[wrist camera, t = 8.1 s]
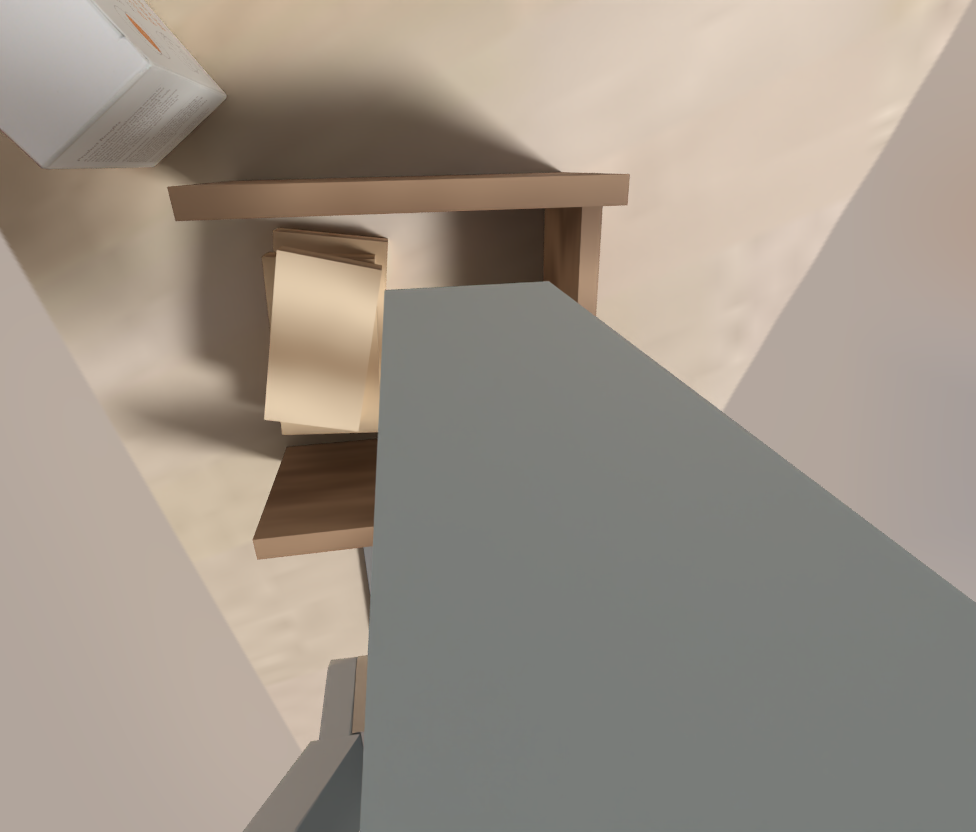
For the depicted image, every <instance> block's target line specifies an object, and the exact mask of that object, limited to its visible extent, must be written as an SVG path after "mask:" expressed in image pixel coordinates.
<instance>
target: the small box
mask: <svg viewBox="0 0 976 832" xmlns="http://www.w3.org/2000/svg"><path fill="white" fill-rule="evenodd" d="M226 97H227V95H226V93H225V92H224V91H223V90H222V89H221V88H220V87H219V86H218V85H217V84H216V82H215V81H214V80H213V79H212V78H211V77H210V76H209V74H208V73H207V72H206V71H205V70H204V69H203V68H202V66H201V65H200V64H199V63H198V62H197V61H196V59H195V58H194V57H193V56H192V55H191V54H190V53H189V51H188V50H187V49H186V48H185V47H184V46H183V45H182V43H181V42H180V41H179V40H178V39H177V38H176V37H175V35H174V34H173V33H172V32H171V31H170V30H169V29H168V27H167V26H166V25H165V24H164V23H163V22H162V21H161V19H160V18H159V17H158V16H157V15H156V14H155V12H154V11H153V10H152V9H151V8H150V7H149V6H148V4H147V3H146V2H145V1H144V0H0V130H1V131H2V132H3V133H4V134H5V135H6V136H8V137H9V138H10V139H11V140H12V141H13V142H14V143H15V144H16V145H17V146H18V147H20V148H21V149H22V150H23V151H24V152H25V153H26V154H27V155H28V156H29V157H30V158H32V159H33V160H34V161H35V162H36V163H37V164H38V165H39V166H40V167H41V168H44V169H77V168H139V167H154V166H155V165H157V164H158V163H159V162H160V161H161V160H162V159H163V158H164V157H165V156H166V155H168V154H169V153H170V152H171V151H172V150H173V149H174V148H175V147H176V146H177V145H178V144H179V143H180V142H181V141H182V140H183V139H184V138H186V137H187V136H188V135H189V134H190V133H191V132H192V131H193V130H194V129H195V128H196V127H197V126H198V125H199V124H200V123H201V122H202V121H203V120H204V119H205V118H207V117H208V116H209V115H210V114H211V113H212V112H213V111H214V110H215V109H216V108H217V107H218V106H219V105H220V104H221V103H222V102H223V101H224V100H225V99H226Z"/></svg>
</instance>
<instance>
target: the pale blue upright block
mask: <svg viewBox="0 0 976 832" xmlns="http://www.w3.org/2000/svg"><path fill="white" fill-rule="evenodd" d="M360 832H976V603H975V602H974V601H973V600H971V599H970V598H968V597H967V596H966V595H965V594H963V593H962V592H961V591H959V590H958V589H957V588H955V587H954V586H953V585H951V584H950V583H949V582H947V581H946V580H945V579H943V578H942V577H941V576H939V575H938V574H937V573H935V572H934V571H933V570H932V569H930V568H929V567H928V566H926V565H925V564H923V563H922V562H921V561H920V560H918V559H917V558H916V557H914V556H913V555H911V554H910V553H909V552H907V551H906V550H905V549H903V548H902V547H901V546H900V545H898V544H897V543H896V542H894V541H893V540H892V539H890V538H889V537H888V536H886V535H885V534H884V533H882V532H881V531H879V530H878V529H877V528H876V527H874V526H873V525H872V524H870V523H869V522H868V521H866V520H865V519H864V518H862V517H861V516H860V515H858V514H857V513H856V512H854V511H853V510H852V509H851V508H849V507H848V506H846V505H845V504H844V503H842V502H841V501H840V500H838V499H837V498H836V497H835V496H833V495H832V494H831V493H829V492H828V491H827V490H825V489H824V488H823V487H821V486H820V485H819V484H817V483H816V482H815V481H813V480H812V479H811V478H809V477H808V476H807V475H805V474H804V473H803V472H801V471H800V470H799V469H797V468H796V467H795V466H793V465H792V464H791V463H789V462H788V461H787V460H785V459H784V458H783V457H781V456H780V455H779V454H778V453H776V452H775V451H773V450H772V449H771V448H770V447H768V446H767V445H766V444H764V443H763V442H762V441H760V440H759V439H758V438H756V437H755V436H753V435H752V434H751V433H749V432H748V431H747V430H746V429H744V428H743V427H742V426H740V425H739V424H738V423H736V422H735V421H734V420H732V419H731V418H729V417H728V416H727V415H726V414H724V413H723V412H722V411H720V410H719V409H718V408H716V407H715V406H714V405H712V404H711V403H710V402H708V401H707V400H706V399H705V398H703V397H702V396H701V395H699V394H698V393H697V392H695V391H694V390H693V389H691V388H690V387H689V386H687V385H686V384H685V383H683V382H682V381H681V380H679V379H678V378H677V377H675V376H674V375H673V374H671V373H670V372H669V371H667V370H666V369H665V368H663V367H662V366H661V365H659V364H658V363H657V362H655V361H654V360H653V359H651V358H650V357H649V356H647V355H646V354H645V353H643V352H642V351H641V350H639V349H638V348H637V347H635V346H634V345H633V344H631V343H630V342H629V341H628V340H626V339H625V338H624V337H622V336H621V335H620V334H618V333H617V332H616V331H614V330H613V329H612V328H610V327H609V326H608V325H606V324H605V323H604V322H602V321H601V320H600V319H598V318H597V317H596V316H594V315H593V314H592V313H590V312H589V311H588V310H586V309H585V308H584V307H582V306H581V305H580V304H578V303H577V302H576V301H574V300H573V299H572V298H570V297H569V296H568V295H566V294H565V293H564V292H562V291H561V290H560V289H558V288H557V287H556V286H554V285H553V284H552V283H551V282H549V281H543V282H525V283H507V284H489V285H471V286H453V287H434V288H416V289H398V290H384V312H383V334H382V356H381V378H380V400H379V422H378V444H377V466H376V488H375V510H374V532H373V553H372V575H371V597H370V619H369V641H368V663H367V685H366V707H365V729H364V751H363V773H362V795H361V817H360Z"/></svg>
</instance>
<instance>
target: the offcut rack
mask: <svg viewBox="0 0 976 832" xmlns="http://www.w3.org/2000/svg"><path fill="white" fill-rule="evenodd" d="M629 178H630V174H603V173H569V172H554V173H516V174H478V175H439V176H401V177H363V178H325V179H286V180H248V181H228V182H216V183H205V184H194V185H182V186H171V187H167V188H168V192H169V196H170V200H171V204H172V208H173V213H174V217H175V221H190V220H219V219H247V218H276V217H304V216H333V215H361V214H390V213H418V212H447V211H475V210H504V209H532V208H545V216H544V267H543V281H549V282H551V283H552V284H553V285H554V286H556V287H557V288H558V289H560V290H561V291H562V292H564V293H565V294H566V295H568V296H569V297H570V298H572V299H573V300H574V301H576V302H577V303H578V304H580V305H581V306H582V307H584V308H585V309H586V310H588V311H589V312H590V313H592V314H593V315H594V316H596V307H597V290H598V274H599V257H600V240H601V224H602V207H603V206H618V205H627V204H628V191H629ZM377 444H378V439H370V440H359V441H348V442H337V443H326V444H315V445H303V446H292V447H287V448H286V451H285V453H284V456H283V459H282V462H281V464H280V467H279V470H278V472H277V475H276V478H275V481H274V483H273V486H272V489H271V491H270V494H269V497H268V500H267V502H266V505H265V508H264V510H263V513H262V516H261V519H260V521H259V524H258V527H257V529H256V532H255V535H254V538H253V543H254V548H255V552H256V556H257V560H258V559H267V558H275V557H284V556H293V555H301V554H310V553H319V552H327V551H336V550H344V549H353V548H362V547H370V546H373V532H374V510H375V488H376V466H377Z"/></svg>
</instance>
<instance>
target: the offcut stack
mask: <svg viewBox="0 0 976 832" xmlns="http://www.w3.org/2000/svg"><path fill="white" fill-rule="evenodd" d="M272 233H273V252H268V253H266V254H265V255H264V256H262V266H263V274H264V283H265V292H266V300H267V309H268V317H269V326H270V347H269V360H268V374H267V387H266V401H265V414H264V420H271V421H279V422H281V429H282V435H300V434H334V433H369V432H378V422H379V400H380V378H381V356H382V334H383V312H384V290H386V273H387V249H388V239H387V238H377V237H367V236H357V235H347V234H337V233H327V232H317V231H307V230H297V229H287V228H277V229H275V230H273V231H272Z"/></svg>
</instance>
